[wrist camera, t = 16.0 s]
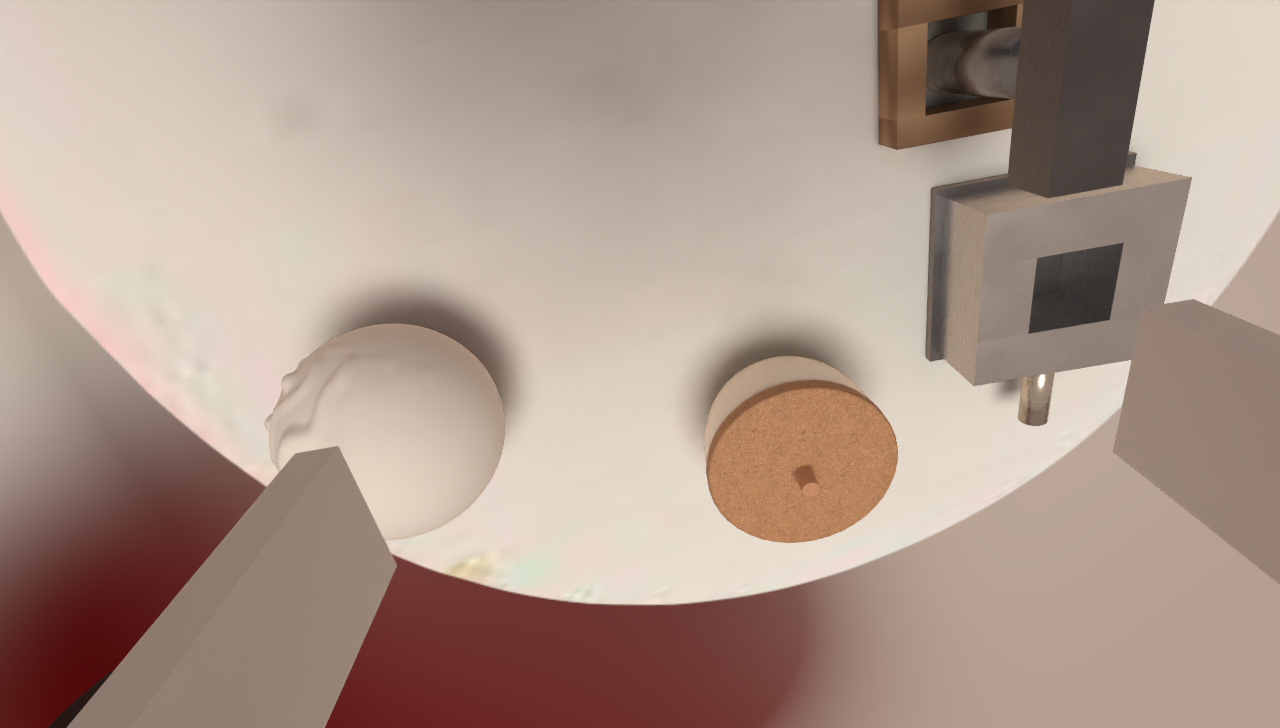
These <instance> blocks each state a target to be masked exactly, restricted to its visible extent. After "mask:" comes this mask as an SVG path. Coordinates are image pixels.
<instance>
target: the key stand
mask: <svg viewBox="0 0 1280 728" xmlns="http://www.w3.org/2000/svg"><path fill="white" fill-rule="evenodd" d="M1023 1H1024V0H878V44H879V144H880V145H884V146H887V147H890V148H893V149H896V150H899V149H904V148H910V147H915V146H920V145H925V144H931V143H936V142H941V141H947V140H952V139H957V138H962V137H968V136H973V135H978V134H983V133H989V132H994V131H999V130H1004V129H1010V128H1012V125H1013V113H1014V102H1015V99H1005V98H995V97H985V96H983V97H981V98H976V99H971V100H966V101H961V102H955V103H950V104H945V105H940V106H935V107H929V108H925V107H926V72H927V36H928V22H933V21H938V20H943V19H948V18H953V17H958V16H963V15H968V14H973V13H978V12H983V11H988V10H989V17H988V29H996V28H1008V27H1019V26H1021V24H1022V13H1023Z"/></svg>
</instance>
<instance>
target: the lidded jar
mask: <svg viewBox="0 0 1280 728" xmlns="http://www.w3.org/2000/svg"><path fill="white" fill-rule="evenodd" d="M705 459H706V474H707V480H708V485H709V490H710V493H711V496H712V499H713V501H714V503H715V505H716V506H717V508H718V510H719V511H720V513H721V514H722V515H723V516H724V517H725V518H726V519H727V520H728V521H729V522H730V523H732V524H733V525H734V526H736V527H737V528H738V529H740V530H742V531H744V532H746V533H748V534H750V535H752V536H755V537H758V538H760V539H764V540H769V541H774V542H784V543H795V542H806V541H813V540H818V539H821V538H824V537H828V536H831V535H833V534H836V533H838V532H841V531H843V530H845V529H846V528H848V527H850V526H852V525H853V524H855V523H856V522H858V521H859V520H861V519H862V518H863V517H865V516H866V515H867V514H868V513H869V512H870V511H871V510H872V509H873V508H874V507H875V506H876V505H877V504H878V503H879V501H880V500H881V499H882V498H883V497H884V495H885V493H886V491H887V490H888V488H889V486H890V484H891V482H892V479H893V477H894V474H895V471H896V465H897V460H898V447H897V442H896V437H895V434H894V432H893V429H892V427H891V425H890V423H889V422H888V420H887V419H886V417H885V416H884V415H883V413H882V412H881V410H880V409H879V408H878V407H877V406H876V405H875V404H874V403H873V402H872V401H871V400H870V399H869V398H868V397H867V396H866V394H865V393H864V392H863V391H862V390H861V389H860V388H859V387H858V386H857V385H856V384H855V383H854V382H853V381H852V380H850V379H849V378H848V377H847V376H845V375H844V374H842V373H841V372H839V371H838V370H836V369H835V368H833V367H831V366H830V365H827V364H825V363H823V362H820V361H817V360H813V359H810V358H805V357H799V356H778V357H772V358H767V359H764V360H761V361H758V362H756V363H754V364H751V365H749V366H747V367H745V368H744V369H742V370H741V371H739V372H738V373H736V374H735V375H734V376H733V377H732V378H731V379H730V380H729V381H727V383H726V384H725V385H724V386H723V387H722V389H721V390H720V392H719V393H718V395H717V397H716V398H715V400H714V402H713V403H712V406H711V409H710V411H709V414H708V418H707V423H706V428H705Z"/></svg>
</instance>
